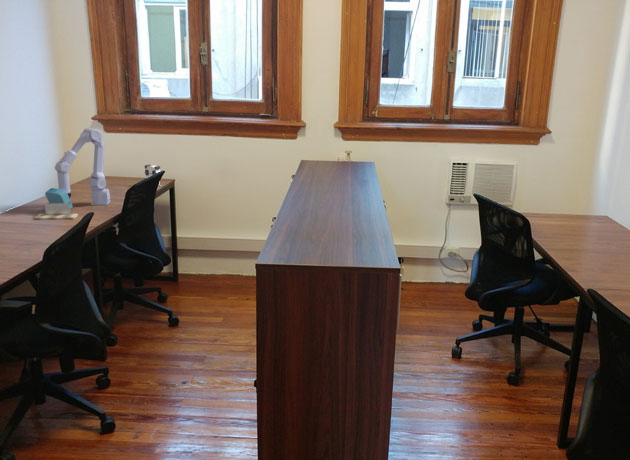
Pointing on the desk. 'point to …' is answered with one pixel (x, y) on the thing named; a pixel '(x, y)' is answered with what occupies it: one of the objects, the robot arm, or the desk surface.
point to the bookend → (56, 212)
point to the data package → (58, 196)
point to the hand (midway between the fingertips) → (66, 206)
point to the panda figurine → (151, 170)
